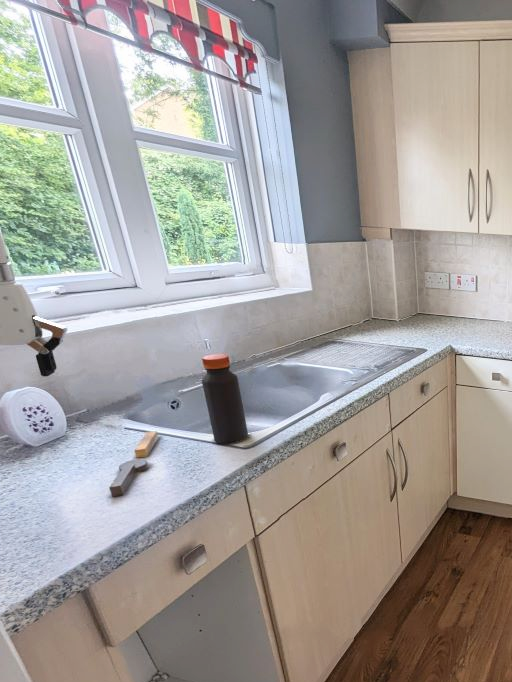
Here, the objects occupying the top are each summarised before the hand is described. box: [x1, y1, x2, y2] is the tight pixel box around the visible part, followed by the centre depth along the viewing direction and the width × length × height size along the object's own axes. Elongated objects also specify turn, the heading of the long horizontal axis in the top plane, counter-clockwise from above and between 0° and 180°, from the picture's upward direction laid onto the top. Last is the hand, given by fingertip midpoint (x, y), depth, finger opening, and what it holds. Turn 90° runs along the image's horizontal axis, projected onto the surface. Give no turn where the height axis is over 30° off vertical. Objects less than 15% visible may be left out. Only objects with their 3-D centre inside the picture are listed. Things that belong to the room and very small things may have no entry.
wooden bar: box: [134, 430, 159, 459], centre depth 101 cm, size 10×2×2 cm, turn 26°
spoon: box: [108, 458, 149, 497], centre depth 88 cm, size 13×4×2 cm, turn 26°
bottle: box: [201, 353, 249, 445], centre depth 104 cm, size 7×7×20 cm
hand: (10, 375), depth 78 cm, fingers open, 9 cm apart
